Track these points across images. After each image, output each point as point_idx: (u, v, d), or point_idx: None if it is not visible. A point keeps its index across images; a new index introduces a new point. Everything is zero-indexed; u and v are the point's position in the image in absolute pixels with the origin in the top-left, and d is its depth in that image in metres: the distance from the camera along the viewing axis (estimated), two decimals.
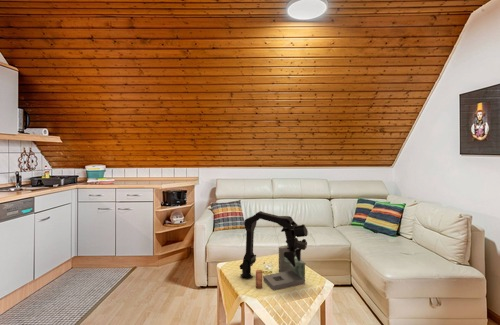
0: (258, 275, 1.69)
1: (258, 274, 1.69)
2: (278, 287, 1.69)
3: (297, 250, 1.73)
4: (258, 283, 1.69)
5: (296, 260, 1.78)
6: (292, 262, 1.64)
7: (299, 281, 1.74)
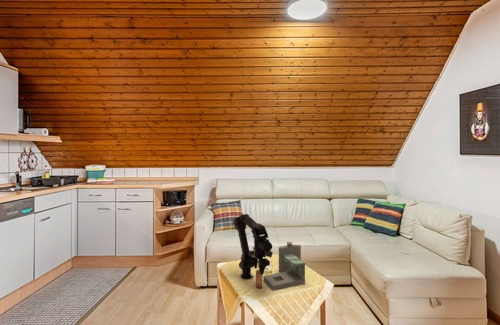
0: (258, 275, 1.69)
1: (258, 274, 1.69)
2: (278, 287, 1.69)
3: (255, 258, 1.75)
4: (258, 283, 1.69)
5: (296, 260, 1.78)
6: (262, 270, 1.66)
7: (299, 281, 1.74)
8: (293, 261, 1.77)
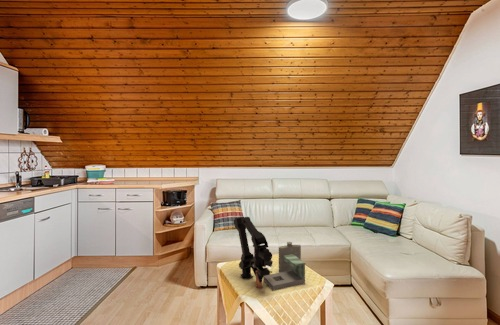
0: None
1: None
2: (278, 287, 1.69)
3: (257, 268, 1.73)
4: (258, 283, 1.69)
5: (296, 260, 1.78)
6: (260, 278, 1.68)
7: (299, 281, 1.74)
8: (293, 261, 1.77)
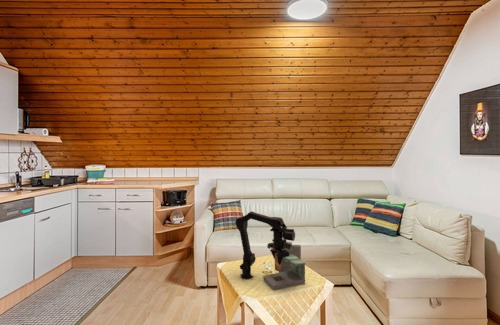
0: None
1: None
2: (278, 287, 1.69)
3: (276, 251, 1.78)
4: (278, 265, 1.74)
5: (296, 260, 1.78)
6: (280, 260, 1.72)
7: (299, 281, 1.74)
8: (293, 261, 1.77)
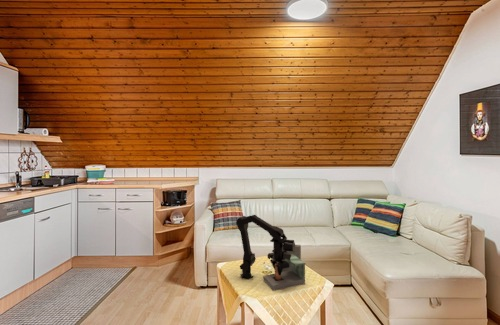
0: None
1: None
2: (278, 287, 1.69)
3: (276, 262, 1.78)
4: (278, 276, 1.74)
5: (296, 260, 1.78)
6: (280, 271, 1.73)
7: (299, 281, 1.74)
8: (293, 261, 1.77)
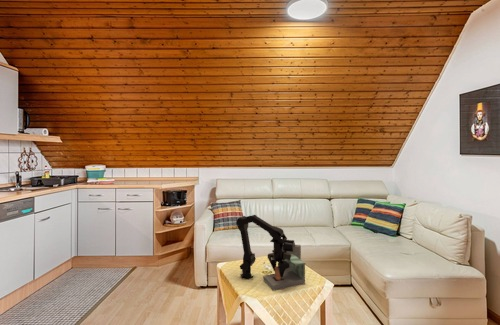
0: (277, 271, 1.74)
1: (277, 270, 1.74)
2: (278, 287, 1.69)
3: (274, 261, 1.80)
4: (278, 279, 1.74)
5: (296, 260, 1.78)
6: (282, 273, 1.71)
7: (299, 281, 1.74)
8: (293, 261, 1.77)
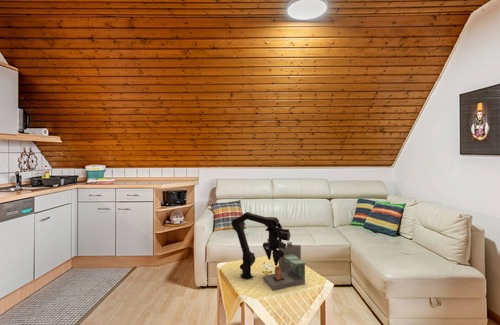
0: (277, 271, 1.74)
1: (277, 270, 1.74)
2: (278, 287, 1.69)
3: (269, 249, 1.81)
4: (278, 279, 1.74)
5: (296, 260, 1.78)
6: (276, 261, 1.72)
7: (299, 281, 1.74)
8: (293, 261, 1.77)
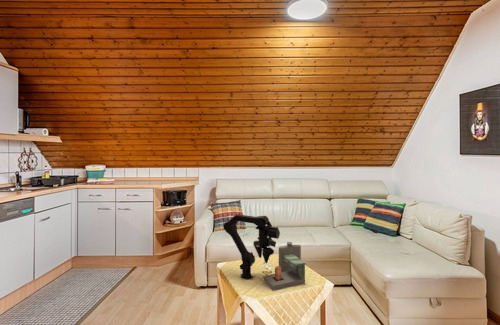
0: (277, 271, 1.74)
1: (277, 270, 1.74)
2: (278, 287, 1.69)
3: (260, 248, 1.84)
4: (278, 279, 1.74)
5: (296, 260, 1.78)
6: (266, 259, 1.74)
7: (299, 281, 1.74)
8: (293, 261, 1.77)
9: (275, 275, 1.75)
